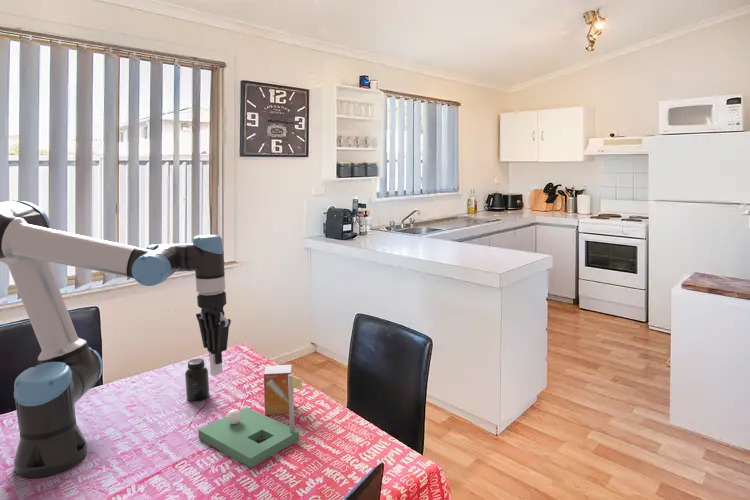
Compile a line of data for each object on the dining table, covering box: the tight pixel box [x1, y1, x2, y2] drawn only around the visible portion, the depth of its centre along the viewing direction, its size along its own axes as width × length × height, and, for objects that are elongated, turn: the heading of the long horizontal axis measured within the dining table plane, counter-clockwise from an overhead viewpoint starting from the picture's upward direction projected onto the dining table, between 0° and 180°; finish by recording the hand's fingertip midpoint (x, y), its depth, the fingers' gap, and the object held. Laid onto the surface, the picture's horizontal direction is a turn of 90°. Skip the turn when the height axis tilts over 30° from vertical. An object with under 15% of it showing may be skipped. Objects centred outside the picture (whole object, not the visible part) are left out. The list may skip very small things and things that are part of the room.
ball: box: [226, 408, 242, 424], centre depth 135 cm, size 4×4×4 cm
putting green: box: [197, 373, 303, 469], centre depth 130 cm, size 25×16×18 cm, turn 53°
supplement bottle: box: [184, 358, 210, 402], centre depth 156 cm, size 7×7×12 cm
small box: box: [263, 364, 293, 416], centre depth 147 cm, size 8×6×13 cm
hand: (216, 373), depth 138 cm, fingers closed
